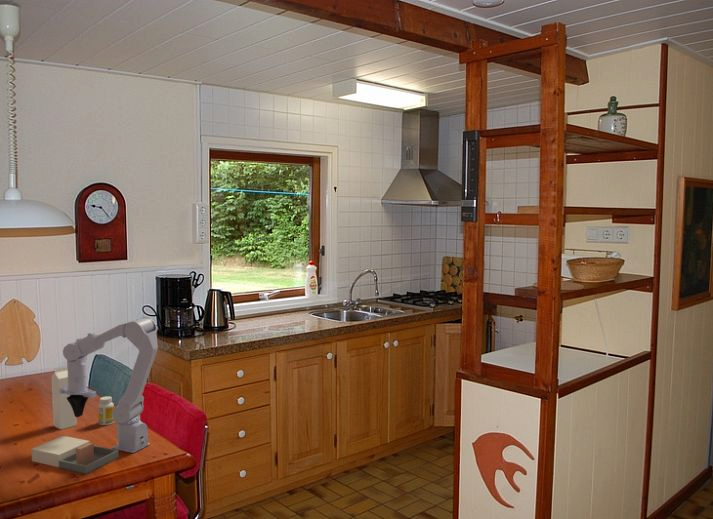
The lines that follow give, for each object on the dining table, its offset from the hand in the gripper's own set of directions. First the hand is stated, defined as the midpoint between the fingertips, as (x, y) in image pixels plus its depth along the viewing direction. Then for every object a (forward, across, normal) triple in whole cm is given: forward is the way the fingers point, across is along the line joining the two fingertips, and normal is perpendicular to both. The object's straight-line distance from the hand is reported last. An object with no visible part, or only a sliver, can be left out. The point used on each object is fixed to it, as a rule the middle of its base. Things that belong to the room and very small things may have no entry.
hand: (78, 416), depth 206 cm
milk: (+10, -18, +10) cm, 23 cm away
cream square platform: (+9, +4, -11) cm, 15 cm away
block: (+6, +13, -11) cm, 19 cm away
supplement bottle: (+10, -6, +18) cm, 21 cm away
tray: (+9, +16, -11) cm, 22 cm away
